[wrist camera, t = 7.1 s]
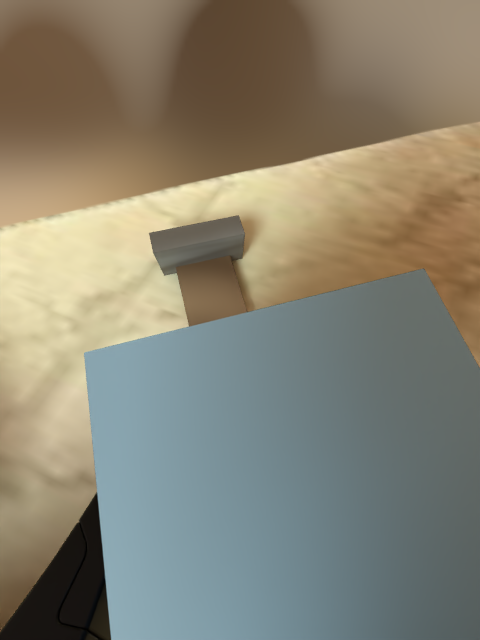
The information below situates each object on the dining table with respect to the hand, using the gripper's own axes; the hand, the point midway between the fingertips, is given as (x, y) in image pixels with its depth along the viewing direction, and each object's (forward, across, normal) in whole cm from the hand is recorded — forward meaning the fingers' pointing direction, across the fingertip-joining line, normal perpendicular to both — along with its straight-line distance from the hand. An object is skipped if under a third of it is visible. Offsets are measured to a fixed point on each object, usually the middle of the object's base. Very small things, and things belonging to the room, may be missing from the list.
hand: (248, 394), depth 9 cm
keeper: (+4, 0, +6) cm, 7 cm away
